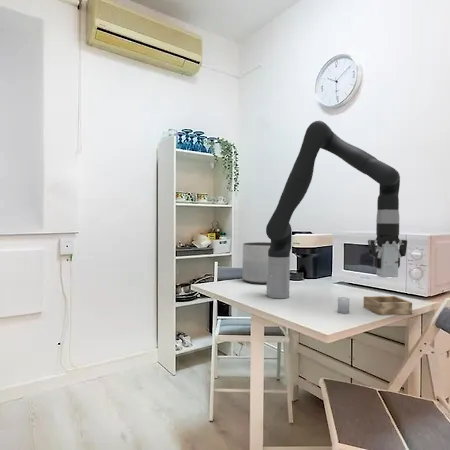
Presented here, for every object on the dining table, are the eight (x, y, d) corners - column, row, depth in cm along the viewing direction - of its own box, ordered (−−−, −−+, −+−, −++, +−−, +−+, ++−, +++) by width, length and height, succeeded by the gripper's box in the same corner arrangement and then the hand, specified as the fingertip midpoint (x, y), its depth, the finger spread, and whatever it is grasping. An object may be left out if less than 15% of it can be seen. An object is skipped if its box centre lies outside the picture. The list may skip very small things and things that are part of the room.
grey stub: (340, 314, 118) (340, 299, 118) (335, 310, 122) (335, 297, 122) (351, 313, 119) (351, 299, 118) (346, 310, 123) (346, 297, 122)
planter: (233, 280, 181) (233, 243, 181) (261, 275, 196) (261, 241, 196) (265, 287, 165) (266, 246, 164) (293, 281, 180) (293, 244, 180)
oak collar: (378, 314, 117) (378, 303, 117) (363, 307, 128) (363, 296, 127) (412, 314, 118) (412, 302, 118) (394, 306, 129) (394, 296, 129)
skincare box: (384, 278, 120) (384, 244, 120) (375, 275, 124) (376, 243, 124) (399, 277, 121) (399, 243, 121) (390, 275, 126) (390, 243, 125)
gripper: (374, 222, 118) (374, 270, 118) (413, 222, 119) (412, 269, 120) (363, 222, 125) (363, 267, 126) (400, 222, 127) (399, 266, 127)
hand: (387, 268), depth 123 cm, fingers closed on skincare box, 6 cm apart
